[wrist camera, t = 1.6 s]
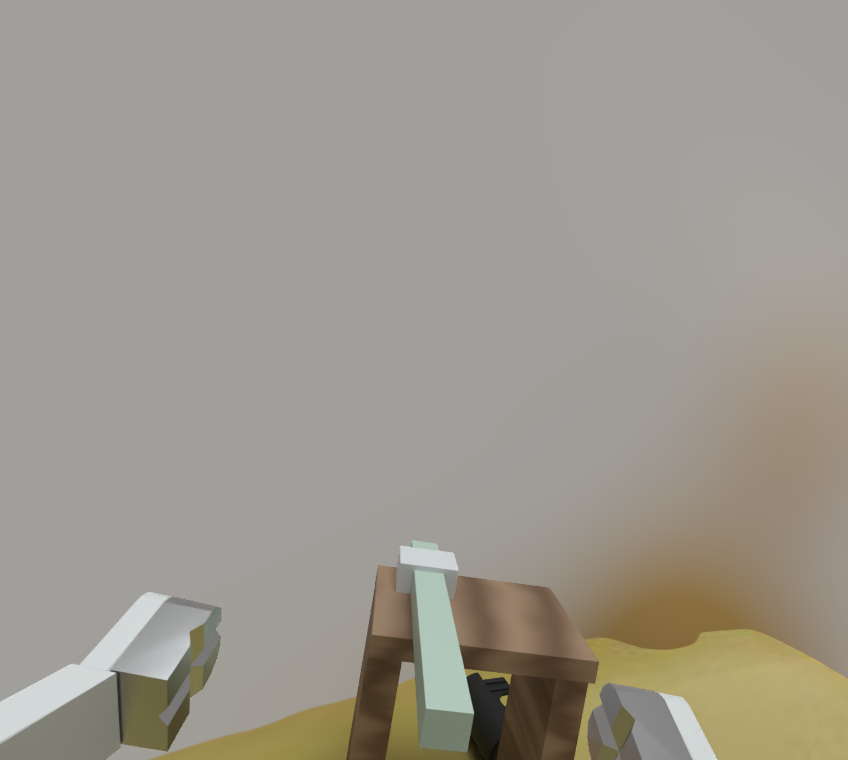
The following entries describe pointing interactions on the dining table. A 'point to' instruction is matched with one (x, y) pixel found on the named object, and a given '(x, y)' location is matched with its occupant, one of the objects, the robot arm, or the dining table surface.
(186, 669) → the robot arm
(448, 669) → the pale green bar
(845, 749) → the dining table surface
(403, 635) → the shelf
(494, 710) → the end cap
